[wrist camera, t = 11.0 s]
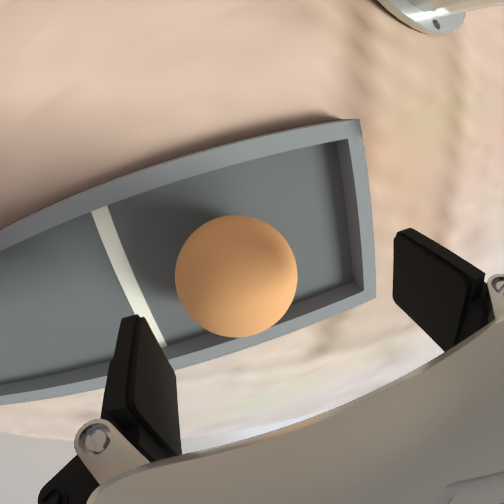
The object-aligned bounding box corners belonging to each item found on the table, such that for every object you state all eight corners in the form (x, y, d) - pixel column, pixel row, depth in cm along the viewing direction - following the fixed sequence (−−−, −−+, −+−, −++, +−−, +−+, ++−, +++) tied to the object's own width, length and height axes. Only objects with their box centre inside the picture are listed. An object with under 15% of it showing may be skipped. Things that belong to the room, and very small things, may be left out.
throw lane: (-86, 282, 12) (-97, 292, 10) (342, 119, 17) (359, 118, 15) (-17, 393, 17) (-23, 407, 15) (362, 285, 22) (376, 297, 20)
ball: (160, 221, 16) (153, 266, 11) (264, 190, 17) (307, 218, 12) (193, 310, 19) (203, 377, 13) (283, 281, 19) (323, 336, 14)
